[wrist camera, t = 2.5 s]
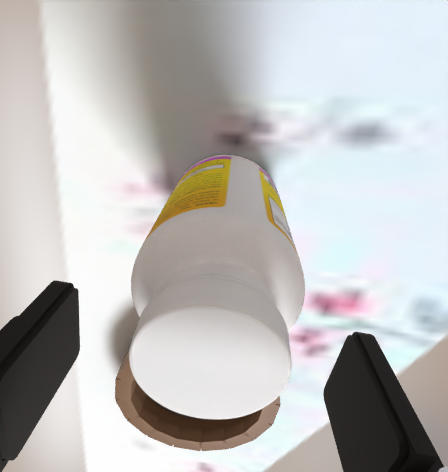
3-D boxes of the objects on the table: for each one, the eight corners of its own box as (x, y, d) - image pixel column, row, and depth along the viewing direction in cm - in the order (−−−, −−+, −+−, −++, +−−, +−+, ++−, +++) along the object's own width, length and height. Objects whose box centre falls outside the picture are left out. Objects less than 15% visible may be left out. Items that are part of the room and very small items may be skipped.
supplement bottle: (161, 226, 21) (68, 401, 10) (197, 133, 19) (124, 227, 7) (251, 263, 22) (260, 461, 11) (298, 179, 19) (379, 329, 8)
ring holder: (128, 303, 25) (116, 328, 22) (293, 332, 25) (298, 358, 23) (124, 410, 30) (114, 437, 28) (257, 431, 31) (258, 460, 28)
